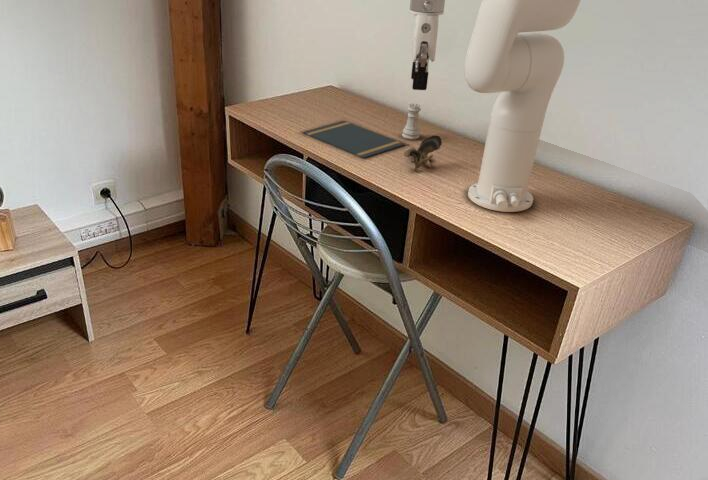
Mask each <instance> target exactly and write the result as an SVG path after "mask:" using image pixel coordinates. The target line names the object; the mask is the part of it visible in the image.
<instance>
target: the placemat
mask: <svg viewBox="0 0 708 480" xmlns="http://www.w3.org/2000/svg"><path fill="white" fill-rule="evenodd" d="M302 134H305V135H306V136H309V137H312V138H313V139H316V140H319V141H320V142H321V141H322V142H324V143H326V144H329V145H330V146H333V147H336V148H338V149H340V150H343V151H345V152H348V153H350V154H352V155H354V156H358V157H359V158H361V159H367V158H370V157H374V156H377V155H379V154H382V153H385V152H388V151H391V150H394V149H397V148H400V147H404V146H405V145H406V143H403V142H401V141H399V140H396V139H393V138H390V137H387V136H385V135H382V134H380V133H377V132H375V131H372V130H368V129H366V128H364V127H361V126H359V125H356V124H354V123H350V122H348V121H345V120H343V121H338V122H335V123H331V124H327V125H324V126H320V127H317V128H313V129H310V130H309V129H308V130H305V131H303V133H302Z"/></svg>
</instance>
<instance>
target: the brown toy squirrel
mask: <svg viewBox="0 0 708 480" xmlns="http://www.w3.org/2000/svg"><path fill="white" fill-rule="evenodd" d="M442 144H443V141H442V138H441V137H440V135H435V134H434V135H431V136H428V137H427V138H424V139H423V140H422V141H421V143H420V145H419V146H418V149H416V148H415V147H414V146H412V147H409V148H407V149H405V150H404V152H403V156H404V157H405V158H410V157H412V158H413V159H414V160H411V161H410V163H412V164H414V169H413V172H416V171H417V170H418V169H419V168H420V167H421V166H422V164H425V165H426V166H427V167H429V169H431V168H432V166H431V162H430V160H431V159H432V158H433V157H434V155H433V154H431V153H433V152H434V151H438V150H440V149H441V146H442ZM429 154H431V155H429ZM428 155H429V156H428Z"/></svg>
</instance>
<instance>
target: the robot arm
mask: <svg viewBox="0 0 708 480" xmlns="http://www.w3.org/2000/svg"><path fill="white" fill-rule="evenodd" d="M581 1H582V0H481V2H480V6H479V9H478V13H477V17H476V20H475V23H474V27H473V30H472V33H471V36H470V40H469V43H468V47H467V51H466V54H465V57H464V58H465V59H464V64H463V65H464V66H463V67H464V68H463V70H464V71H463V72H464V78H465V82H466V83H467V86H468V87H469V88H470V89H471V90H472V91H474V92H477V93H481V94H495V93H500V94H499V95H498V97H497V99H496V100H495V102H494V103H493V104H494V105H493V106H492V109H491V114H490V118H489V123H488V128H487V133H486V139H485V144H484V148H483V149H484V150H483V155H482V160H481V165H480V170H479V174H478V175H479V176H478V180H477V182H476V183H473V184H471V186H470V187H469V188H468V192H467V196H468V199H470V201H471V202H473V203H474V204H475V205H477V206H479V207H482V208H484V209H488V210H491V211H496V212H503V213H516V212H523V211H526V210H528V209H529V208H531V207H532V205H533V202H534V196H533V194H532V193H531V192H530V191H529V190H528V188H529V185H530V179H531V175H532V172H533V168H534V167H533V166H534V163H535V160H536V155H537V150H538V147H539V140H540V138H541V133H542V129H543V125H544V121H545V118H546V113H547V109H548V107H549V103H550V100H551V97H552V94H553V92H554V90H555V87H556V85H557V83H558V81H559V79H560V76H561V74H562V71H563V68H564V65H565V64H564V63H565V52H564V48H563V46H562V44H561V43H560V41H559V40H558V39H557V38H555V36H553V35H549V34H546V33H541V32H547V31H548V32H549V31H554V30H555V31H556V30H559V29H562V28H564V27H566V26H567V25H568V24H569V23H570V22H572V21H571V20H572V19H573V18H574V16H575V14H576V12H577V10H578V8H579V5H580V3H581ZM445 5H446V0H410V3H409V11H408V12H409V13H410V14H412V15H414V17H413V28H412V42H411V52H412V60H413V61H412V66H411V76H410V78H411V80H412V87H411V88H412V90H413V91H427V87H428V82H429V81H428V80H429V63H430V61H431V63H434V62H435V60H436V51H437V50H436V49H437V41H438V32H439V31H438V30H439V16H441V15H445V14H444V13H445ZM537 32H538V33H537Z"/></svg>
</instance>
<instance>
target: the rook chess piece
mask: <svg viewBox="0 0 708 480" xmlns="http://www.w3.org/2000/svg"><path fill="white" fill-rule="evenodd" d="M406 110H407V111H408V114H407V120H406V124H405V126H404V128H403V129H402V133H401V137H402V138H403V139H404V140H410V141H415V140H418V139H419V138H420V134H421V131H420V130H421V129H420V128H419V116H420V114H419V113H420V112H421V110H422V108H421V105H420V104H418V103H410V104H409V105H408V107H406Z"/></svg>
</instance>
